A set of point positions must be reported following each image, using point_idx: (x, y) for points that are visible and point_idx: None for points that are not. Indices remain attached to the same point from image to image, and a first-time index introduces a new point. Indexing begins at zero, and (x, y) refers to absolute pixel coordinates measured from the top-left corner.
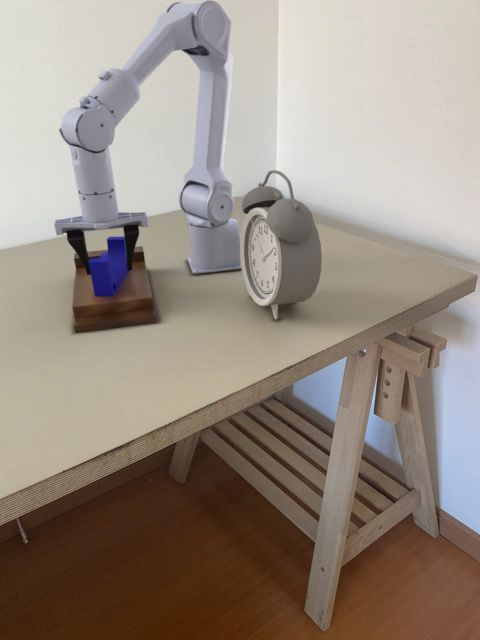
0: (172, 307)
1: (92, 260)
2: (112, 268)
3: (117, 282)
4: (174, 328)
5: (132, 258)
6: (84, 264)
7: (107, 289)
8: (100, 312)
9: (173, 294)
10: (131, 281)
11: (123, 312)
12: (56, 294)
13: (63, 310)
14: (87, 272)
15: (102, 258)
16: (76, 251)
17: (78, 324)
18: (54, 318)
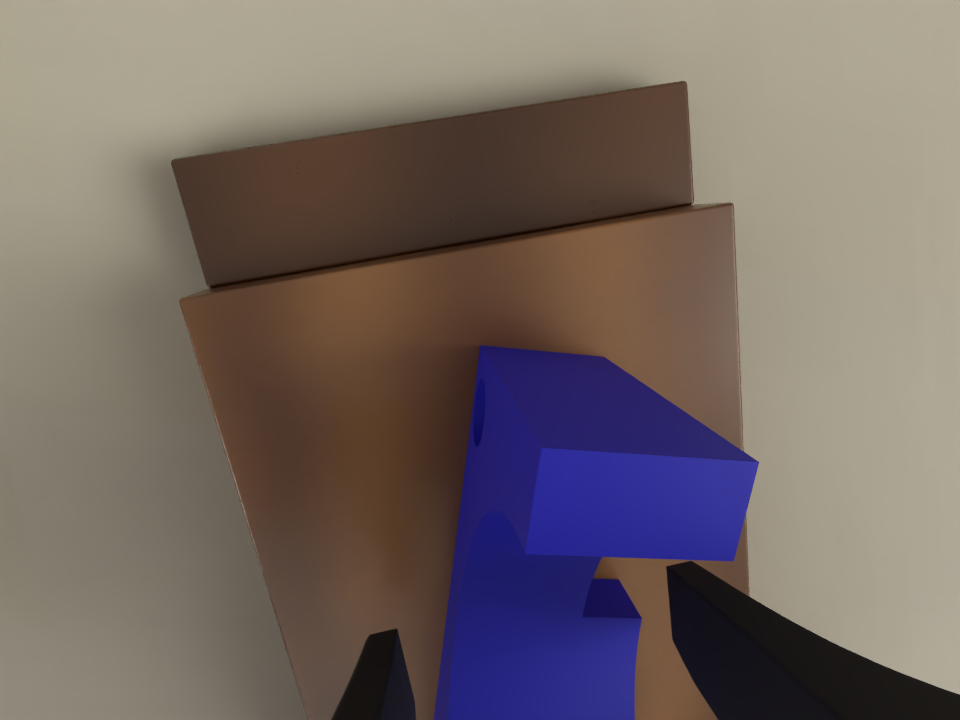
0: (122, 370)
1: (717, 499)
2: (529, 684)
3: (467, 498)
4: (38, 54)
5: (334, 714)
6: (754, 603)
7: (521, 359)
8: (546, 230)
9: (153, 544)
10: (389, 577)
11: (402, 235)
12: (799, 567)
13: (752, 384)
14: (701, 569)
15: (611, 552)
16: (914, 681)
17: (661, 96)
18: (788, 292)
